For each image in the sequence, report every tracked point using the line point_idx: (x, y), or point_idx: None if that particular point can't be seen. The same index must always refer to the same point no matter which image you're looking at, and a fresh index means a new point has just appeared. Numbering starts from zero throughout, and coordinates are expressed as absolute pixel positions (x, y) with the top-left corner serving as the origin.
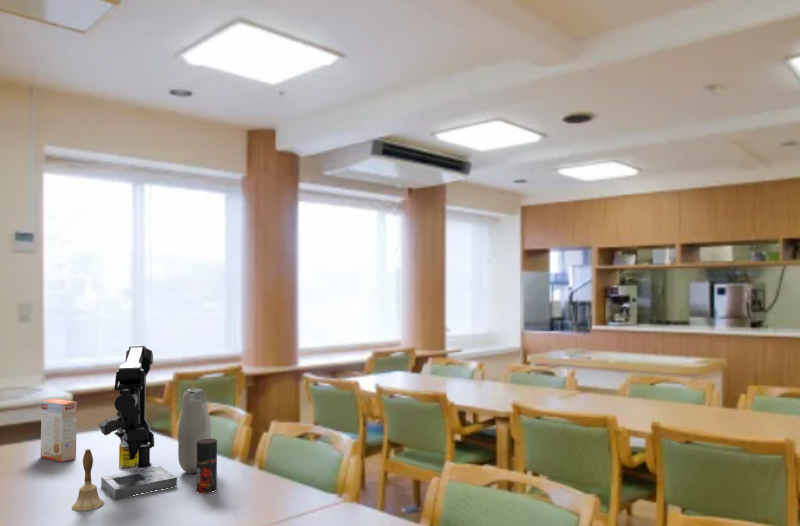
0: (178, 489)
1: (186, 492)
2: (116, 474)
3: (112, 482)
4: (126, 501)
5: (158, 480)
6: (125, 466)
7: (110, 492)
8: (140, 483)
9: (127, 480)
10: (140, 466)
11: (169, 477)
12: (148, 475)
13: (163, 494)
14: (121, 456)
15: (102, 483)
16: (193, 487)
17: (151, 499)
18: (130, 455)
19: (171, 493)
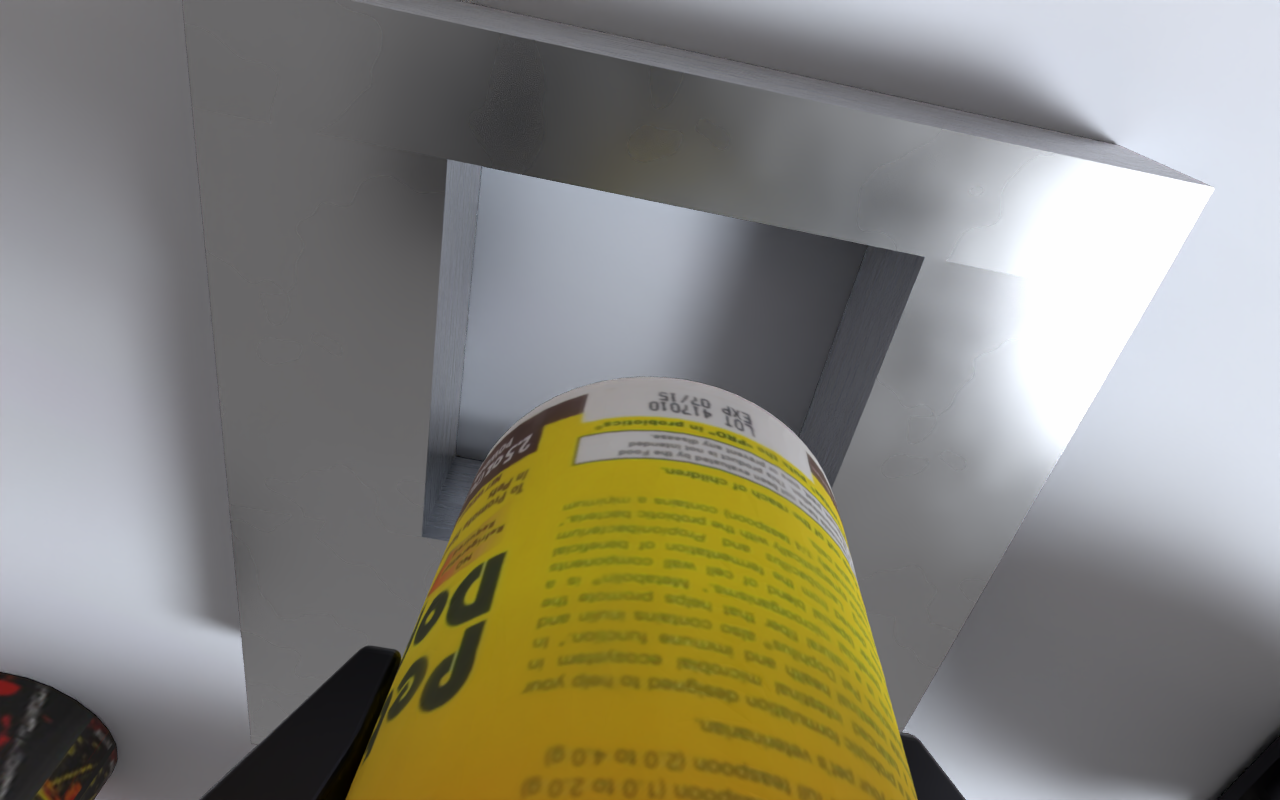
0: (214, 630)
1: (63, 627)
2: (1056, 408)
3: (682, 153)
4: (100, 56)
5: (263, 597)
6: (500, 467)
7: (556, 28)
8: (279, 411)
9: (823, 436)
10: (1269, 762)
11: None
12: None
13: (130, 481)
14: (559, 599)
15: (1082, 145)
16: (188, 718)
17: (7, 318)
18: (272, 742)
19: (116, 540)
